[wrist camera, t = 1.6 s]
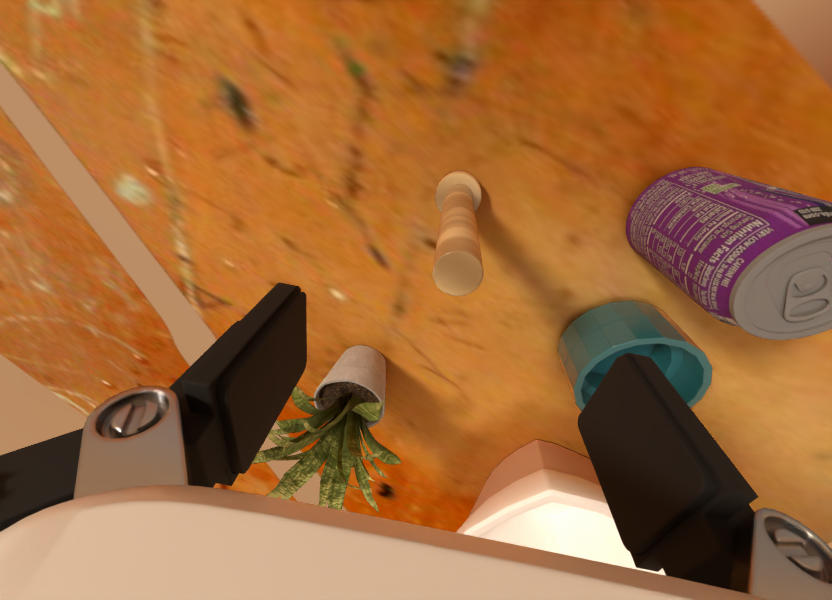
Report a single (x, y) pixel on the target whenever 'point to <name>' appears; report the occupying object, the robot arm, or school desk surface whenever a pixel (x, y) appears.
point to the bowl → (548, 506)
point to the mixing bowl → (631, 349)
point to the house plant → (335, 429)
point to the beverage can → (740, 249)
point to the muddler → (458, 235)
